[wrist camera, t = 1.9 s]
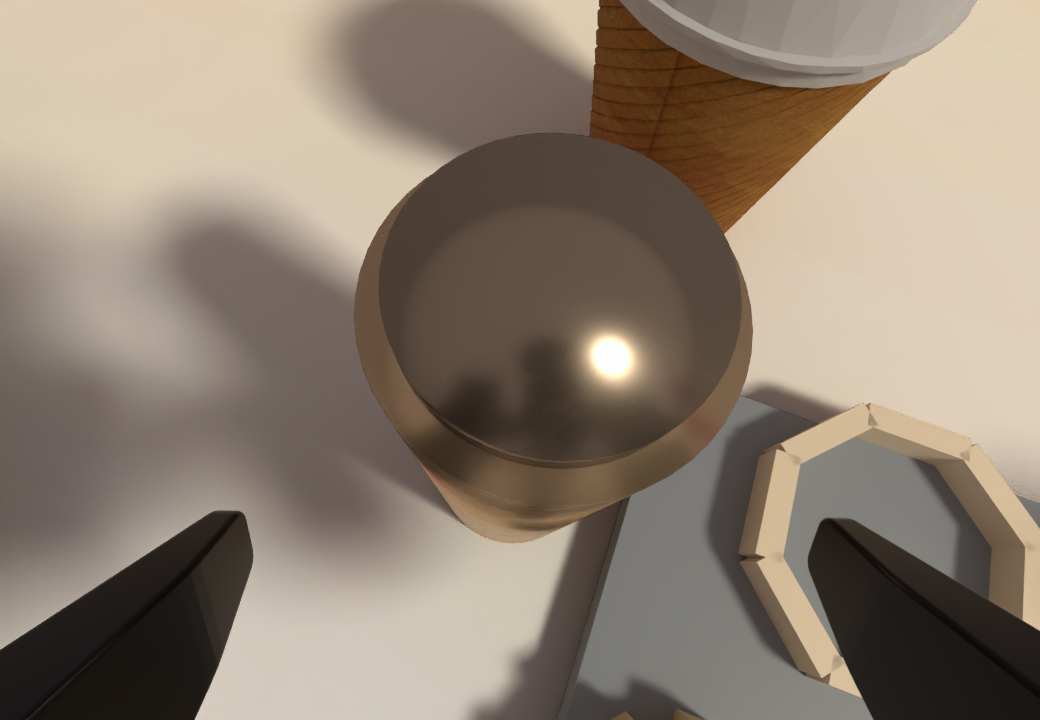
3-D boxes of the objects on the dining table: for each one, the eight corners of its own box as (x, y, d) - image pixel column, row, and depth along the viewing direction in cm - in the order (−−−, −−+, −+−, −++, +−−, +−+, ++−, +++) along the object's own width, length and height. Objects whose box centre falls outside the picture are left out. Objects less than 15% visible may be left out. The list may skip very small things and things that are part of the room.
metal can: (483, 572, 18) (471, 598, 5) (416, 439, 19) (274, 199, 7) (612, 495, 19) (865, 360, 6) (539, 374, 20) (623, 60, 8)
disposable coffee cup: (693, 82, 26) (852, -292, 14) (814, 244, 23) (1126, -61, 12) (508, 147, 24) (527, -223, 13) (616, 332, 21) (762, 70, 10)
